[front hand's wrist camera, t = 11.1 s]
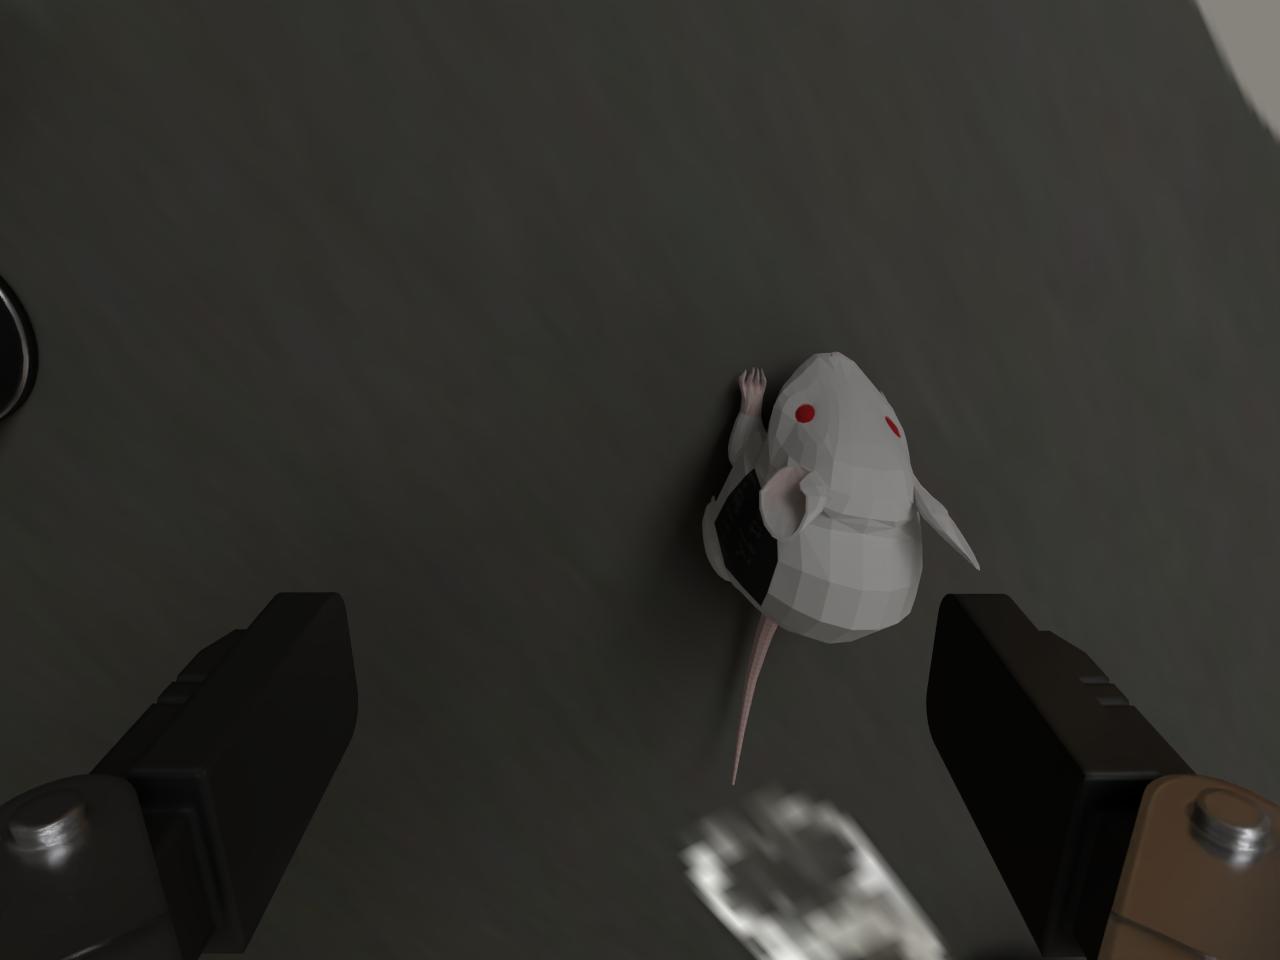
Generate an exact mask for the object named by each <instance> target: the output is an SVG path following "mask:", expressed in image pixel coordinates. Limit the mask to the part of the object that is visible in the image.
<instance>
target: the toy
mask: <svg viewBox="0 0 1280 960" xmlns="http://www.w3.org/2000/svg"><path fill="white" fill-rule="evenodd" d="M761 373H762V376H761V381H760V382H759V380H760V378H759V370H758V368H757V373H756V375H755V377H754V368H753V370H752V372H751V373H750V374H749V375H748V377H747V379H746V380H745V376H746V370H745V371H744V372H743V374H742V375H741V376H740V377H739V387H740V390H741V396H742V401H741V408H740V412H739V414H738V416H737V418H736V420H735V423H734V426H733V430H732V433H731V436H730V439H729V445H728V455H729V461H730V462H731V464H732V466H733V468H732V470H731V472H730V474H729V476H728V478H727V480H726V482H725V484H724V486H723V488H722V490H721V492H720V494H719V496H718V499H717V501H716V500H715V497H714V496H713V497H712V499H711V502H710V503H709V504H708V505H707V507H706V510H705V513H704V517H703V521H702V529H703V541H704V546H705V551H706V555H707V557H708V560H709V562H710V563H711V565H712V567H713V569H714V570H715V571H716V573H717V574H718V575H719V576H720V577H722V578H723V579H724V580H727V581H730V582H732V584H733V585H734V586H735V587H736V588H737V589H738V590H739V591H740V592H741V593H742V594H743V595H744V596H745V597H746V598H747V599H748V600H749V601H750V602H751V603H752V604H753V605H754V606H755V607H756V608H757V609H758V610H759V611H760V612H762V614H761V617H760V620H759V623H758V626H757V630H756V634H755V639H754V643H753V647H752V652H751V656H750V660H749V665H748V669H747V673H746V679H745V685H744V692H743V699H742V706H741V713H740V719H739V726H738V735H737V743H736V752H735V761H734V769H733V778H732V784H733V785H734V782H735V777H736V772H737V767H738V762H739V757H740V752H741V747H742V741H743V736H744V731H745V727H746V722H747V718H748V714H749V710H750V705H751V701H752V697H753V693H754V689H755V684H756V680H757V678H758V675H759V672H760V669H761V666H762V664H763V661H764V658H765V655H766V652H767V650H768V647H769V644H770V641H771V639H772V636H773V634H774V632H775V630H776V628H777V626H778V625H779V626H781V627H782V628H784V629H785V630H787V631H790V632H794V633H797V634H800V635H803V636H807V637H810V638H813V639H816V640H819V641H823V642H826V643H838V642H851V641H853V640H856V639H858V638H861V637H864V636H866V635H869V634H871V633H874V632H876V631H879V630H881V629H884V628H887V627H889V626H892V625H894V624H897V623H899V622H900V621H901V620H902V619H903V618H904V617H906V616H907V615H908V614H909V613H910V611H911V608H912V605H913V602H914V600H915V597H916V592H917V588H918V584H919V580H920V576H921V572H922V539H921V528H920V517H919V512H920V513H921V515H922V517H923V518H924V519H925V520H926V521H927V522H928V523H929V524H930V525H931V526H932V527H933V528H934V529H935V530H936V531H937V532H938V533H939V534H940V535H941V536H942V537H943V538H944V539H945V540H946V541H947V542H948V543H949V544H950V545H951V546H952V547H953V548H955V549H956V550H957V551H958V552H959V553H960V554H961V555H962V556H963V557H964V558H966V559H967V560H968V561H969V562H970V563H971V564H972V565H973V566H974V567H975V568H977V569H978V570H980V567H979V564H978V562H977V560H976V558H975V556H974V554H973V552H972V550H971V549H970V547H969V545H968V544H967V542H966V540H965V539H964V537H963V535H962V534H961V532H960V531H959V529H958V528H957V526H956V525H955V523H954V522H953V520H952V519H951V518H950V517H949V515H948V511H947V510H946V509H945V508H944V507H943V505H942V504H941V503H939V502H938V501H937V500H936V499H934V498H933V497H932V496H931V495H930V494H929V493H928V492H927V491H926V490H925V489H924V488H923V487H922V486H921V485H920V483H919V482H918V480H917V479H916V477H915V476H914V474H913V471H912V468H911V465H910V458H909V452H908V447H907V442H906V438H905V434H904V431H903V429H902V427H901V425H900V423H899V421H898V419H897V417H896V415H895V413H894V410H893V408H892V407H891V406H890V405H889V403H888V402H887V400H886V398H885V396H884V395H883V393H882V392H881V390H880V392H881V394H880V392H879V391H878V390H877V389H876V388H875V386H874V385H873V384H872V383H871V381H870V380H869V379H868V378H867V377H866V376H865V374H864V373H863V372H862V371H861V370H860V368H859V367H858V366H857V365H856V364H855V362H853V361H852V360H850V359H849V358H847V357H845V356H844V355H842V354H841V353H838V352H832V353H821V354H815V355H812V356H811V357H809V358H808V359H807V360H805V361H804V362H803V363H802V364H801V365H800V366H799V367H798V368H797V370H796V371H795V372H794V373H793V375H792V376H791V377H790V378H789V379H788V381H787V382H786V383H785V384H784V385H783V387H782V389H781V390H780V392H779V395H778V397H777V400H776V402H775V405H774V407H773V411H772V415H771V418H770V421H769V427H768V433H767V432H766V430H765V429H764V426H763V422H762V418H761V410H762V401H763V395H764V391H765V388H766V378H765V377H764V373H763V370H762V368H761ZM753 377H754V380H753ZM744 380H745V381H744ZM918 510H919V512H918Z"/></svg>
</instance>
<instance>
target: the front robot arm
mask: <svg viewBox="0 0 1280 960" xmlns="http://www.w3.org/2000/svg"><path fill="white" fill-rule="evenodd" d="M36 369H37V346H36V341H35V336H34V332H33V329H32V325H31V323H30V320H29V318H28V315H27V313H26V311H25V309H24V307H23V305H22V304H21V302H20V300H19V299H18V297H17V296H16V294H15V293H14V291H13V290H12V289H11V287H10V286H9V285H8V284H7V283H6V281H5V280H4V279H3V278H2V277H1V276H0V420H2V419H4V418H5V417H7V416H9V415H10V414H11V413H13V412H14V411H15V410H16V409H17V408H18V407H19V406H20V405H21V404H22V403H23V401H24V400H25V399H26V397H27V396H28V394H29V392H30V390H31V388H32V385H33V382H34V379H35V375H36ZM926 709H927V719H928V725H929V729H930V733H931V736H932V739H933V741H934V744H935V746H936V748H937V750H938V752H939V754H940V756H941V757H942V759H943V761H944V763H945V765H946V767H947V769H948V771H949V773H950V775H951V777H952V779H953V781H954V783H955V785H956V787H957V789H958V791H959V793H960V795H961V797H962V799H963V801H964V803H965V805H966V807H967V809H968V811H969V813H970V815H971V816H972V818H973V820H974V822H975V824H976V826H977V828H978V830H979V832H980V834H981V836H982V838H983V840H984V842H985V844H986V846H987V848H988V850H989V852H990V854H991V856H992V858H993V860H994V862H995V864H996V866H997V868H998V870H999V872H1000V874H1001V875H1002V877H1003V879H1004V881H1005V883H1006V885H1007V887H1008V889H1009V891H1010V893H1011V895H1012V897H1013V899H1014V901H1015V903H1016V905H1017V907H1018V909H1019V911H1020V913H1021V915H1022V917H1023V919H1024V921H1025V923H1026V925H1027V927H1028V929H1029V931H1030V933H1031V934H1032V936H1033V938H1034V940H1035V942H1036V944H1037V946H1038V948H1039V950H1040V952H1041V954H1042V956H1043V957H1086V958H1087V960H1280V806H1279V805H1277V804H1276V803H1274V802H1272V801H1271V800H1269V799H1267V798H1265V797H1264V796H1262V795H1260V794H1258V793H1255V792H1253V791H1251V790H1249V789H1247V788H1244V787H1242V786H1239V785H1237V784H1234V783H1231V782H1228V781H1224V780H1221V779H1217V778H1213V777H1208V776H1203V775H1197V774H1196V773H1195V772H1194V771H1193V770H1192V769H1191V768H1190V767H1189V766H1188V765H1187V763H1186V762H1185V761H1184V760H1183V759H1182V758H1181V757H1180V756H1179V755H1178V754H1177V753H1176V751H1175V750H1174V749H1173V748H1172V747H1171V746H1170V745H1169V744H1168V743H1167V742H1166V740H1165V739H1164V738H1163V737H1162V736H1161V735H1160V734H1159V733H1158V732H1157V731H1156V730H1155V728H1154V727H1153V726H1152V725H1151V724H1150V723H1149V722H1148V721H1147V720H1146V719H1145V717H1144V716H1143V715H1142V714H1141V713H1140V712H1139V711H1138V710H1137V709H1136V708H1135V707H1134V706H1129V700H1128V699H1127V698H1126V697H1125V696H1124V694H1123V693H1122V692H1121V691H1120V690H1119V689H1118V688H1117V687H1116V686H1115V685H1114V684H1110V683H1109V678H1108V677H1107V676H1106V675H1105V674H1104V673H1103V671H1102V670H1101V669H1100V668H1099V667H1098V666H1097V665H1096V664H1095V663H1094V662H1093V660H1092V659H1091V658H1090V657H1089V656H1088V655H1087V654H1086V653H1085V652H1083V651H1082V650H1080V649H1078V648H1077V647H1075V646H1073V645H1072V644H1070V643H1069V642H1067V641H1065V640H1064V639H1062V638H1060V637H1059V636H1057V635H1055V634H1054V633H1052V632H1051V631H1038V629H1037V628H1036V627H1035V626H1034V625H1033V623H1032V622H1031V621H1030V620H1029V619H1028V618H1027V616H1026V615H1025V614H1024V613H1023V612H1022V611H1021V609H1020V608H1019V607H1018V606H1017V605H1016V604H1015V602H1014V601H1013V600H1012V599H1011V598H1010V597H1009V596H1008V595H1006V594H947V595H946V596H944V598H943V599H942V602H941V604H940V607H939V612H938V619H937V626H936V633H935V639H934V646H933V653H932V660H931V667H930V674H929V681H928V688H927V697H926ZM357 711H358V692H357V684H356V677H355V670H354V663H353V656H352V649H351V642H350V635H349V628H348V621H347V614H346V608H345V604H344V601H343V599H342V597H341V596H340V595H339V594H338V593H336V592H282V593H279V594H277V595H276V596H275V597H274V598H273V599H272V600H271V601H270V602H269V603H268V605H267V606H266V607H265V608H264V609H263V611H262V612H261V613H260V614H259V615H258V616H257V618H256V619H255V620H254V621H253V622H252V624H251V625H250V626H249V627H248V628H247V629H235V630H234V631H232V632H231V633H229V634H227V635H226V636H224V637H222V638H221V639H219V640H217V641H216V642H214V643H213V644H211V645H209V646H208V647H206V648H204V649H203V650H201V651H200V652H199V653H198V654H197V655H196V656H195V657H194V658H193V659H192V661H191V662H190V663H189V664H188V665H187V666H186V667H185V668H184V669H183V671H182V672H181V673H180V674H179V675H178V676H177V681H176V682H172V683H171V684H170V685H169V686H168V687H167V688H166V689H165V690H164V692H163V693H162V694H161V695H160V696H159V697H158V701H157V704H152V705H151V706H150V707H149V708H148V709H147V710H146V711H145V713H144V714H143V715H142V716H141V717H140V718H139V719H138V720H137V721H136V722H135V724H134V725H133V726H132V727H131V728H130V729H129V730H128V731H127V732H126V734H125V735H124V736H123V737H122V738H121V739H120V740H119V741H118V742H117V743H116V745H115V746H114V747H113V748H112V749H111V750H110V751H109V752H108V753H107V755H106V756H105V757H104V758H103V759H102V760H101V761H100V762H99V763H98V765H97V766H96V767H95V768H94V769H93V770H92V771H91V772H90V773H89V774H85V775H77V776H72V777H67V778H63V779H59V780H56V781H52V782H49V783H46V784H43V785H41V786H38V787H36V788H33V789H31V790H29V791H27V792H25V793H22V794H20V795H18V796H16V797H15V798H13V799H11V800H9V801H8V802H6V803H4V804H3V805H1V806H0V960H198V958H199V957H200V955H201V953H244V952H245V950H246V948H247V946H248V944H249V942H250V940H251V938H252V936H253V934H254V932H255V930H256V928H257V926H258V924H259V922H260V920H261V918H262V916H263V914H264V912H265V910H266V908H267V906H268V904H269V902H270V900H271V898H272V896H273V894H274V892H275V890H276V888H277V886H278V884H279V882H280V880H281V878H282V876H283V874H284V872H285V870H286V868H287V866H288V864H289V862H290V860H291V858H292V856H293V854H294V852H295V850H296V848H297V846H298V844H299V842H300V840H301V838H302V836H303V834H304V832H305V830H306V828H307V826H308V824H309V822H310V821H311V819H312V817H313V815H314V813H315V811H316V809H317V807H318V805H319V803H320V801H321V799H322V797H323V795H324V793H325V791H326V789H327V787H328V785H329V783H330V781H331V779H332V777H333V775H334V773H335V771H336V769H337V767H338V765H339V763H340V761H341V759H342V757H343V755H344V753H345V751H346V749H347V747H348V745H349V743H350V741H351V738H352V736H353V733H354V729H355V725H356V719H357Z"/></svg>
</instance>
